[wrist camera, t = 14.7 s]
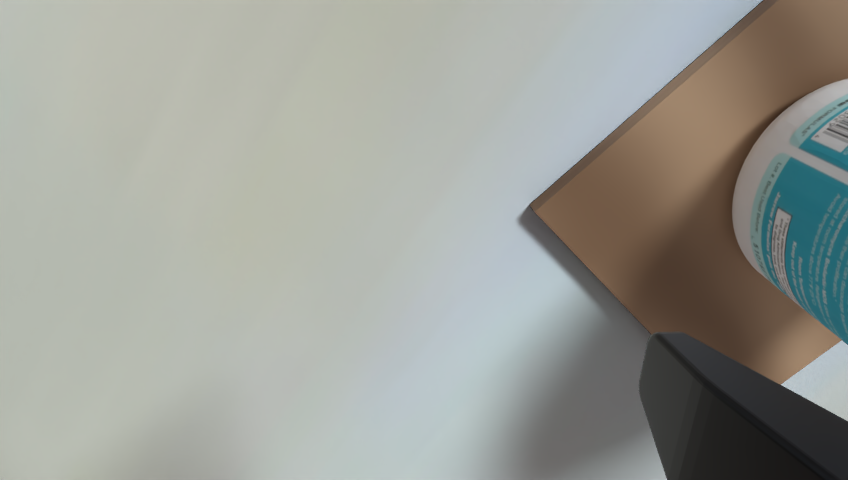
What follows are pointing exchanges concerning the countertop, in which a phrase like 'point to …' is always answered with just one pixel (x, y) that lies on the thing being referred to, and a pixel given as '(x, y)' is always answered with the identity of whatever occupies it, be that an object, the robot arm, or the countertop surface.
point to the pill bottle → (801, 205)
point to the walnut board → (703, 190)
